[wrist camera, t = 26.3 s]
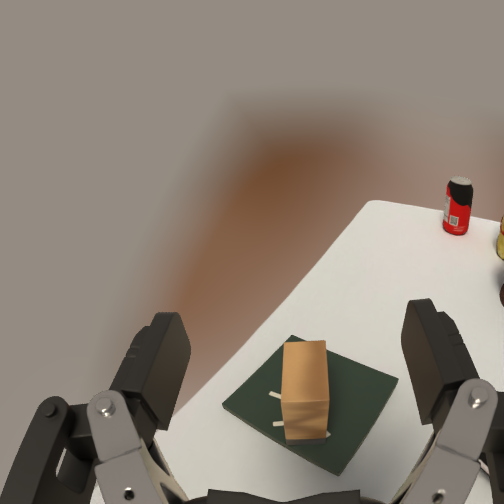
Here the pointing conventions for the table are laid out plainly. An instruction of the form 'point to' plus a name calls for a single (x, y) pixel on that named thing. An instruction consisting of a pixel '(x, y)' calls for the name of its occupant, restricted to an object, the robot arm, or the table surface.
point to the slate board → (340, 406)
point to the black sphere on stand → (502, 295)
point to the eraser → (305, 392)
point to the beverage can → (458, 205)
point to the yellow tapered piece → (501, 240)
